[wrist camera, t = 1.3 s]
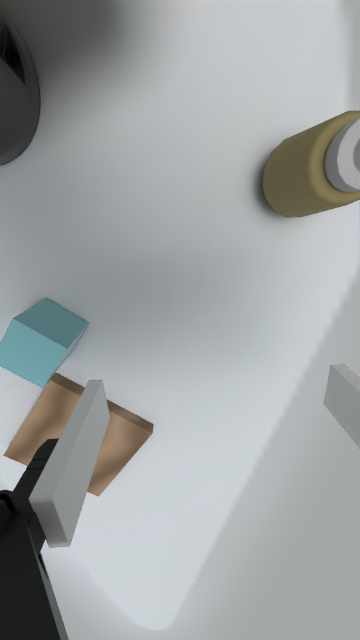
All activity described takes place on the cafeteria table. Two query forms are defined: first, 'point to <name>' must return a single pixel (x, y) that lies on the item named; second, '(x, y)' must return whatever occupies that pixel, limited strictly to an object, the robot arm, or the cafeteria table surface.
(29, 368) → the teal block
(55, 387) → the walnut stand
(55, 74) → the cafeteria table surface
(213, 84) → the cafeteria table surface
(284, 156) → the squeeze bottle
